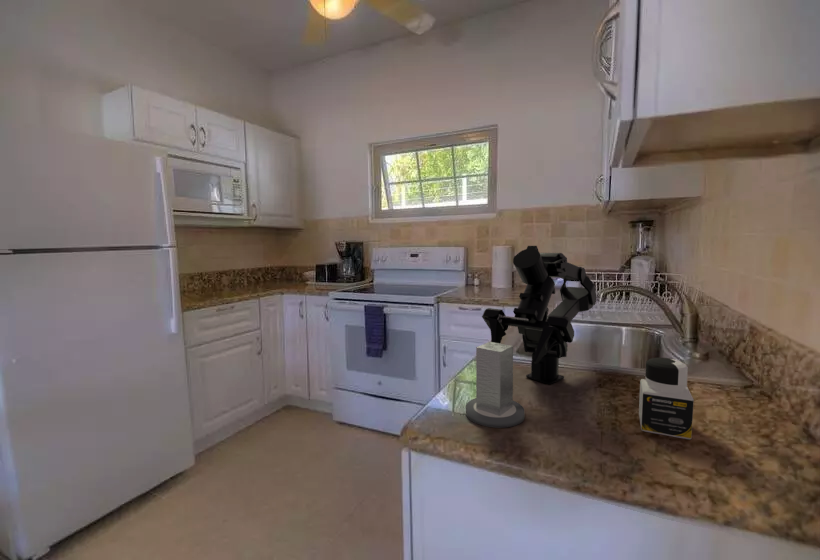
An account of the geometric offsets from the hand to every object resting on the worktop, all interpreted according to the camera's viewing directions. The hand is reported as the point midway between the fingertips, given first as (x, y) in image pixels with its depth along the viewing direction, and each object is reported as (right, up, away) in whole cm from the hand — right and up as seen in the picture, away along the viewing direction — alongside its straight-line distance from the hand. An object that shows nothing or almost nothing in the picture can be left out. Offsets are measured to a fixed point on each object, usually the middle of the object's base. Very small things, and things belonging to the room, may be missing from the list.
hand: (513, 358), depth 79 cm
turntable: (-5, -10, -5) cm, 12 cm away
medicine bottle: (+23, -10, -11) cm, 28 cm away
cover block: (-5, -8, -5) cm, 11 cm away
